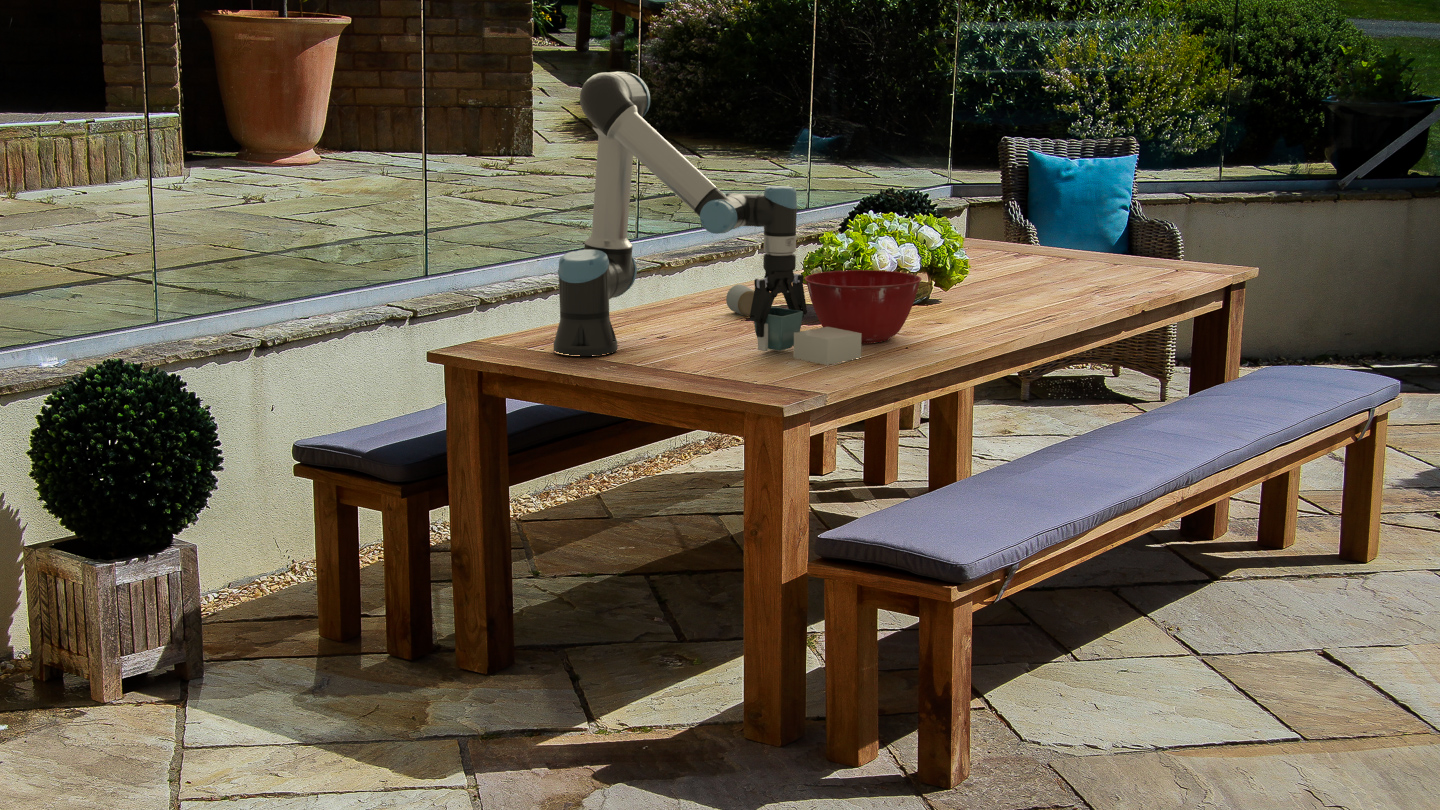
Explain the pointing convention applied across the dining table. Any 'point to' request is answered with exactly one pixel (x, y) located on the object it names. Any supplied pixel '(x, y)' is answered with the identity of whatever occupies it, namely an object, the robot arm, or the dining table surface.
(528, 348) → the dining table surface
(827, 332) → the stone block
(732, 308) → the ceramic mug
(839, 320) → the mixing bowl
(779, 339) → the flower pot
